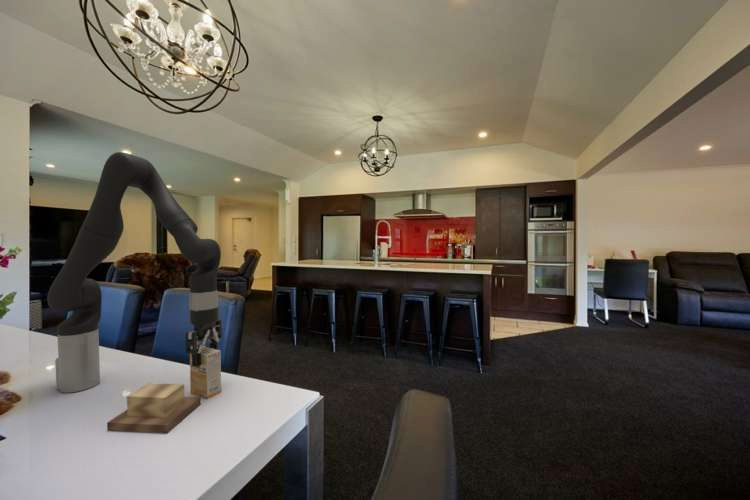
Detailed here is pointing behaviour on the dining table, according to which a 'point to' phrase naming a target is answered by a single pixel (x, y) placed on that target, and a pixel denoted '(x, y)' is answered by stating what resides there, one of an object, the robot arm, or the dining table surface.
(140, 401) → the oak block
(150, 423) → the board
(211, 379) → the supplement box
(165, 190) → the robot arm
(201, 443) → the dining table surface
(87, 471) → the dining table surface
